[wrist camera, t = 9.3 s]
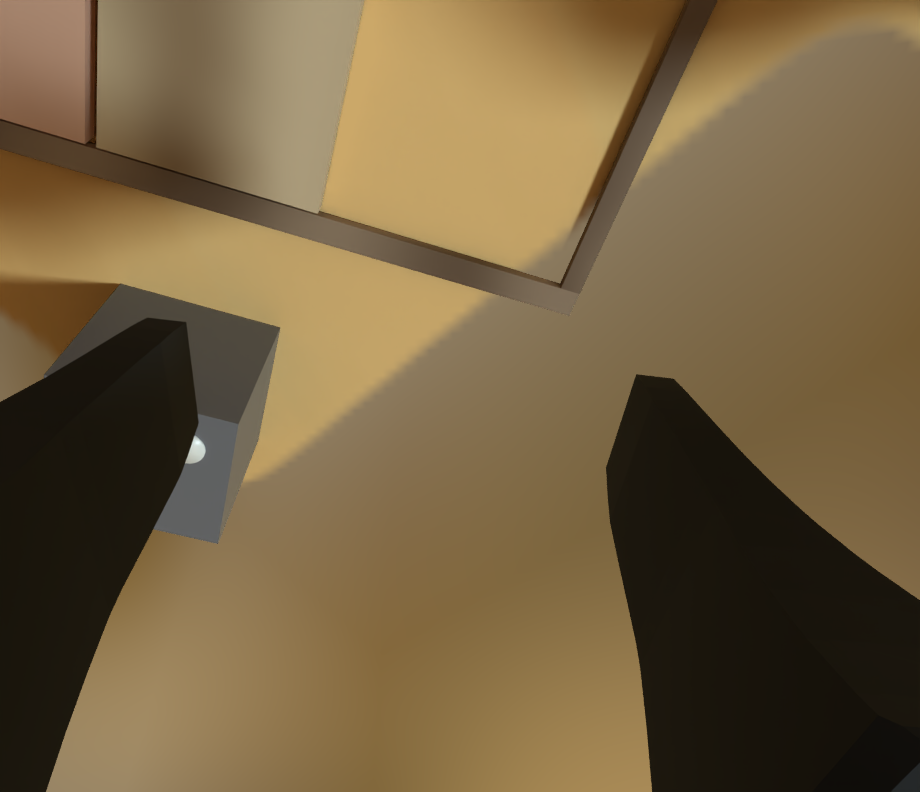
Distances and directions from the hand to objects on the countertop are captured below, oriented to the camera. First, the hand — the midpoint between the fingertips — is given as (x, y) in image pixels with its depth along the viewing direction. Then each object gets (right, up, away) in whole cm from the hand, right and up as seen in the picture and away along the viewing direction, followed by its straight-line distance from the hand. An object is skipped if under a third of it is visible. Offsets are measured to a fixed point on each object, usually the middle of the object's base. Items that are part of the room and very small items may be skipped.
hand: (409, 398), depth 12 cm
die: (-8, +1, +13) cm, 15 cm away
